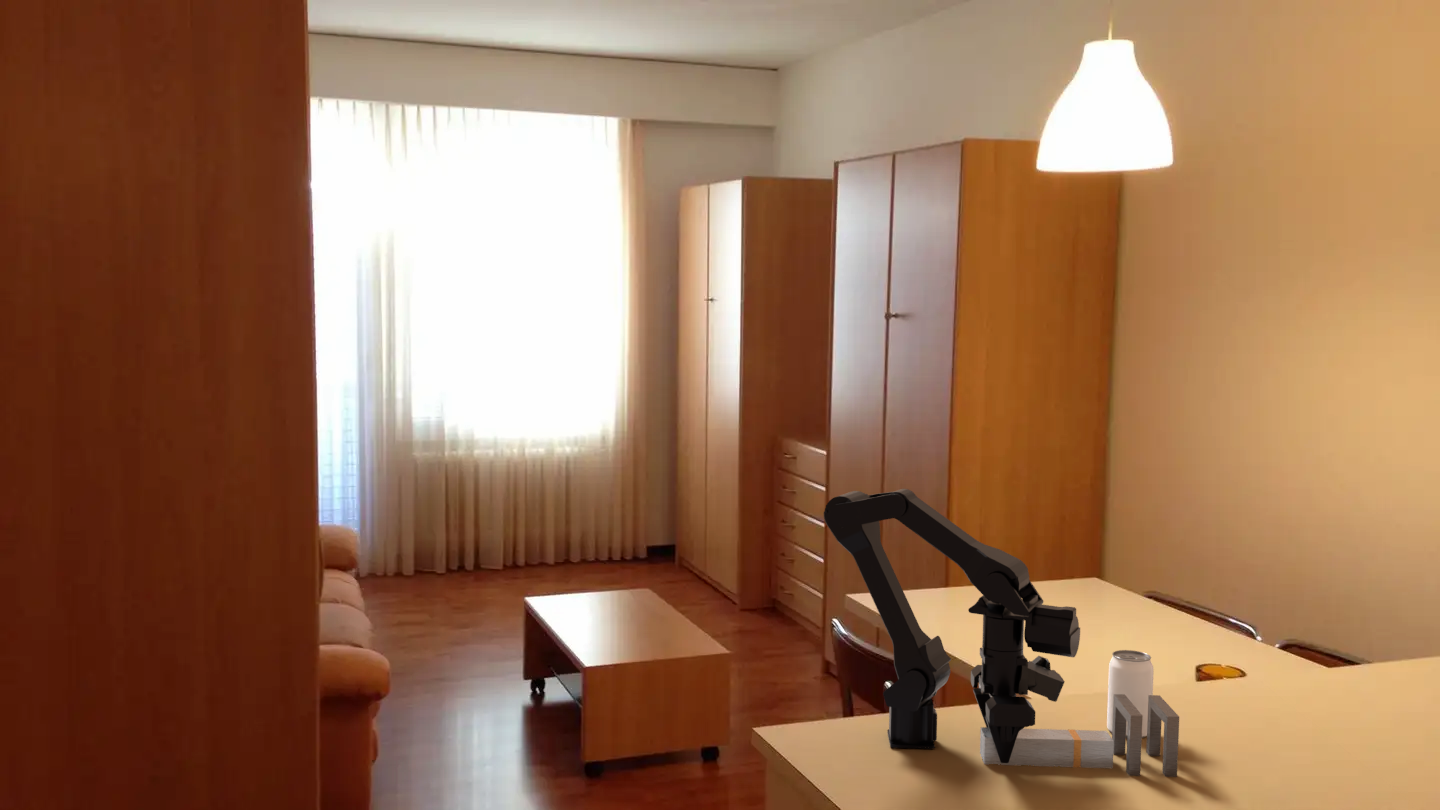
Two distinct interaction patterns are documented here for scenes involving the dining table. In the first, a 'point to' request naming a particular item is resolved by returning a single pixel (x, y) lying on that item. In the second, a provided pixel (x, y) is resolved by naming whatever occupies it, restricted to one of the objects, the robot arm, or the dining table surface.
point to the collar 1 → (1134, 734)
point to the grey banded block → (1053, 748)
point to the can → (1130, 683)
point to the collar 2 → (1165, 713)
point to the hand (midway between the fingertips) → (999, 752)
